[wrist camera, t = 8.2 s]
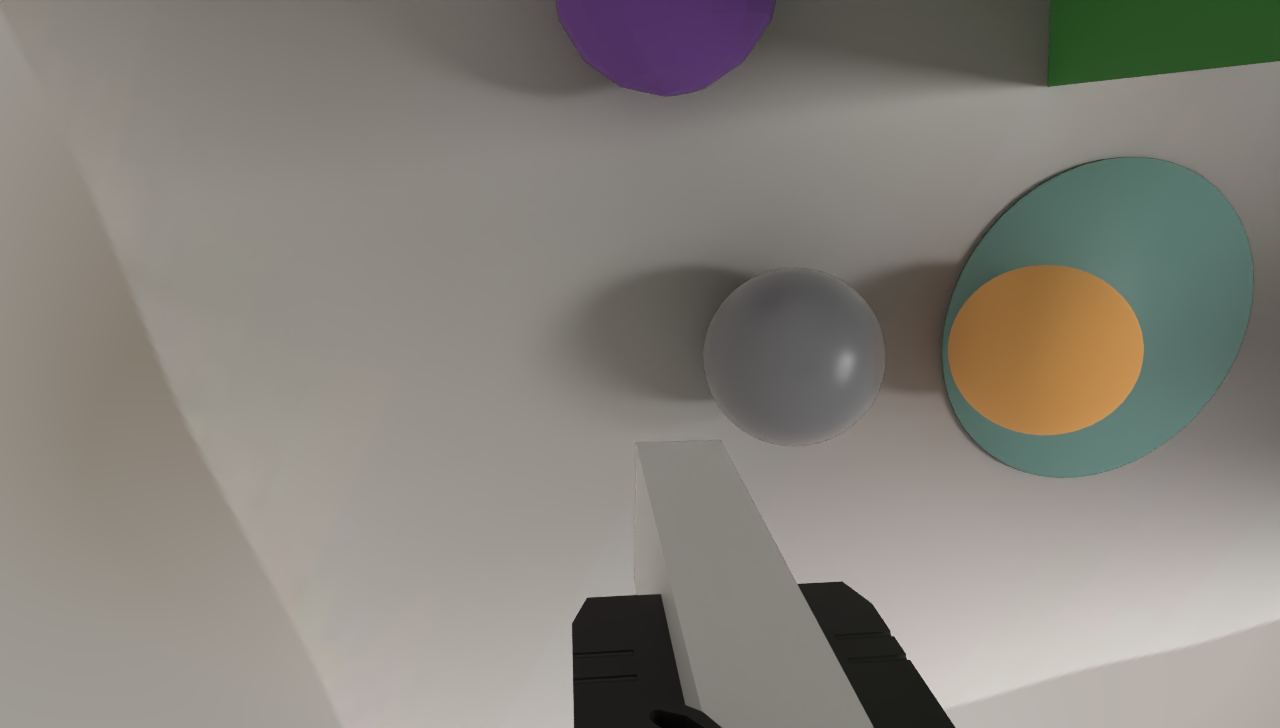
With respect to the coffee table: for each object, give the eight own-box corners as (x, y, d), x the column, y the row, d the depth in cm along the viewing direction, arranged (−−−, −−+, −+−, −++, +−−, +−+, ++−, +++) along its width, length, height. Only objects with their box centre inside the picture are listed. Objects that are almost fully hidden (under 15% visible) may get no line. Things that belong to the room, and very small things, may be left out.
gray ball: (652, 308, 21) (721, 278, 26) (703, 482, 22) (761, 422, 26) (837, 261, 18) (876, 237, 23) (888, 463, 19) (916, 400, 24)
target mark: (1309, 227, 26) (1315, 228, 26) (1140, 509, 29) (1144, 511, 29) (1044, 102, 24) (1048, 102, 23) (887, 424, 26) (889, 426, 26)
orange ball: (958, 275, 27) (1131, 289, 25) (936, 420, 27) (1108, 446, 25) (962, 240, 22) (1180, 254, 20) (936, 419, 22) (1152, 452, 20)
